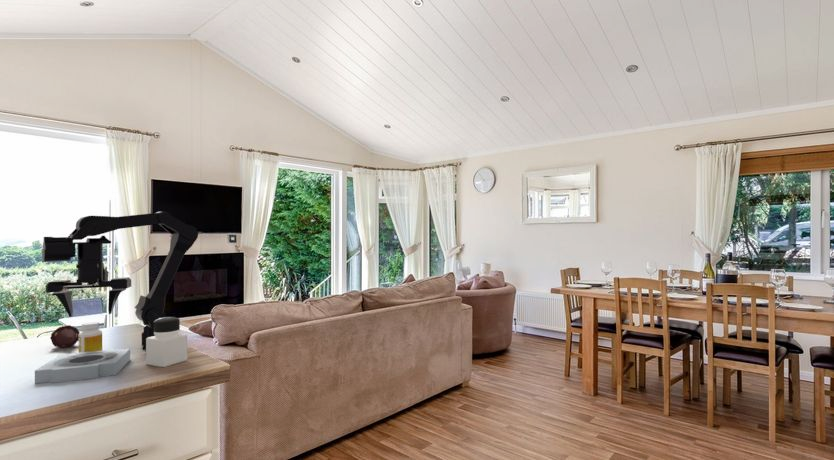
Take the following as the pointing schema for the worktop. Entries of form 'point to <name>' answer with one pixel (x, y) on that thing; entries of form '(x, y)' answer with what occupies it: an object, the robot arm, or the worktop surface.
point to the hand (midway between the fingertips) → (90, 315)
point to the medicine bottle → (166, 343)
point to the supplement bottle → (90, 337)
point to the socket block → (82, 366)
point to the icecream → (65, 336)
